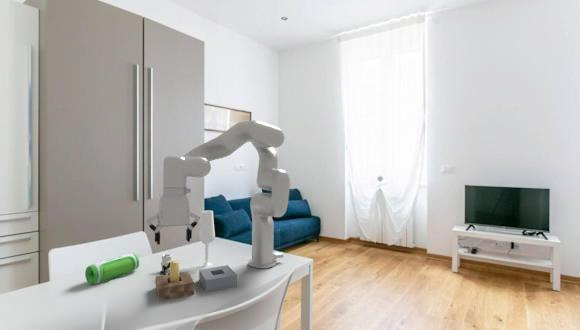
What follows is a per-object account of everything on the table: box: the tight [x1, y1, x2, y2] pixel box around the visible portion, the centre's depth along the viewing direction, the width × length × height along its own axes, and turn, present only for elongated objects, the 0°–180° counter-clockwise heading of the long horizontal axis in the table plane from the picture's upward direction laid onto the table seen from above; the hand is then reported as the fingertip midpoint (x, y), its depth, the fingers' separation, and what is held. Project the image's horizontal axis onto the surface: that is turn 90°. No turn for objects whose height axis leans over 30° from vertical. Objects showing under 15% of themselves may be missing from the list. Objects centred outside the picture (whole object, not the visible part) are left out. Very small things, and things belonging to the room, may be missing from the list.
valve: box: [159, 253, 172, 275], centre depth 123 cm, size 7×7×12 cm
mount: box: [155, 271, 195, 302], centre depth 106 cm, size 11×11×5 cm
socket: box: [198, 264, 238, 293], centre depth 113 cm, size 11×11×5 cm
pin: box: [170, 260, 180, 283], centre depth 106 cm, size 3×3×10 cm
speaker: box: [84, 253, 140, 285], centre depth 120 cm, size 18×7×8 cm, turn 150°
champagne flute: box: [198, 209, 216, 267], centre depth 132 cm, size 7×7×24 cm
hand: (173, 242), depth 105 cm, fingers open, 9 cm apart
